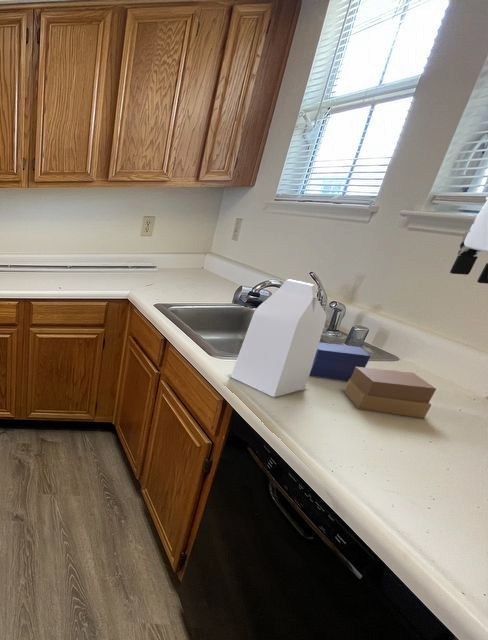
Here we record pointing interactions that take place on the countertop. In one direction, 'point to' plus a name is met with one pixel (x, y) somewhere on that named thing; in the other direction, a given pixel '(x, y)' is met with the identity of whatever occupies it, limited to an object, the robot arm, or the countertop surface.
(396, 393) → the tan books
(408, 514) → the countertop surface
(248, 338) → the milk
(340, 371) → the navy books
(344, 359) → the navy book
